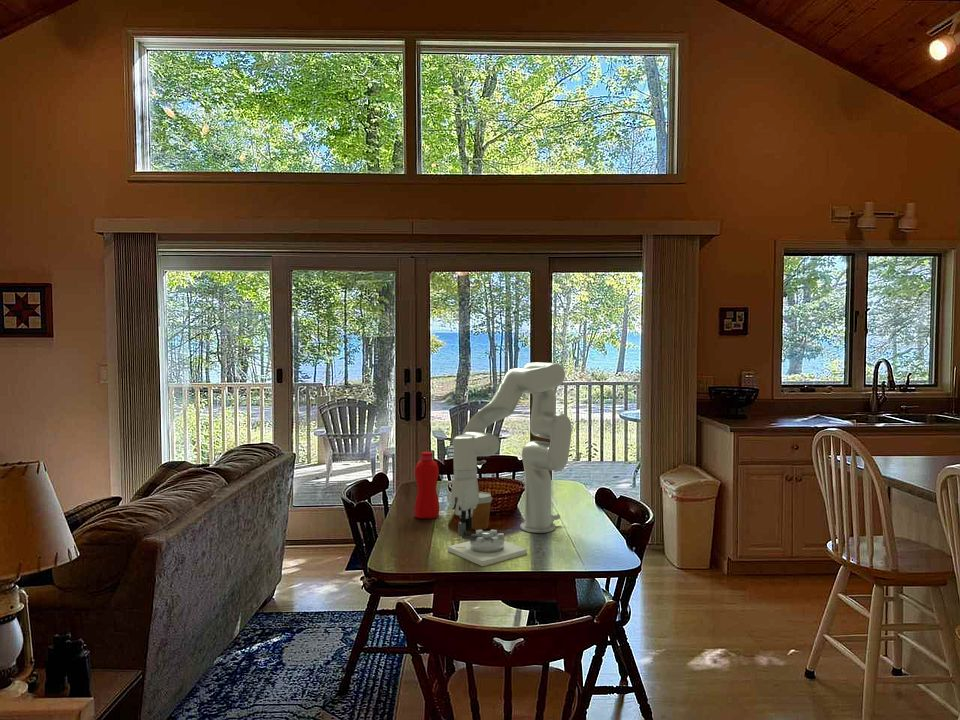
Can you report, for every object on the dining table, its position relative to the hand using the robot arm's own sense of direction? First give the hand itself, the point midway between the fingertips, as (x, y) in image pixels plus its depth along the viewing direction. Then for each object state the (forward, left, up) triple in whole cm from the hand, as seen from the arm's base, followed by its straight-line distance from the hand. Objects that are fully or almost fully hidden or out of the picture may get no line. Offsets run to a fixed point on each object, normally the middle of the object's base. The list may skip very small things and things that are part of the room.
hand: (466, 529), depth 206 cm
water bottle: (-12, -41, -7) cm, 44 cm away
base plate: (-3, +7, -7) cm, 10 cm away
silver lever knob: (-2, +5, -5) cm, 8 cm away
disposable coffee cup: (-18, -16, -7) cm, 25 cm away
